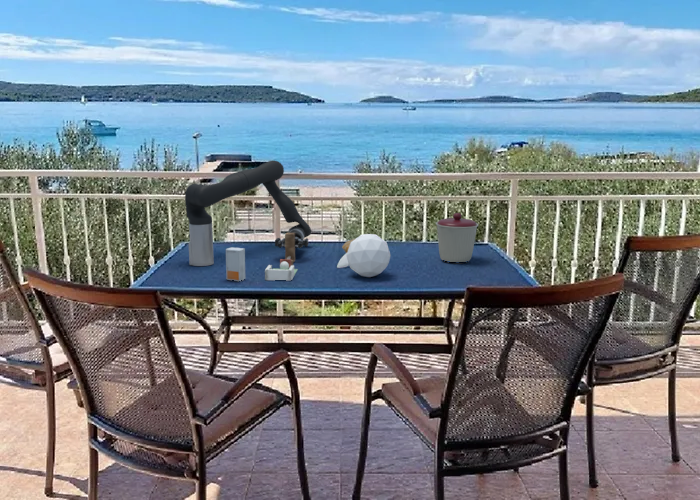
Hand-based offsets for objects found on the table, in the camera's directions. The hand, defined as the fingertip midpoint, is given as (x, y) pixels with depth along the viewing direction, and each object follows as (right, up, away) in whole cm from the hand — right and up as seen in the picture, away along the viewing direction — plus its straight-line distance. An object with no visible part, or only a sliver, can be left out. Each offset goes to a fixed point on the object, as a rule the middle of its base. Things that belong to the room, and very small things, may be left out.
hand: (289, 245), depth 252 cm
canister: (+71, -7, +8) cm, 72 cm away
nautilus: (+32, -5, +17) cm, 37 cm away
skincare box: (-18, -13, -26) cm, 34 cm away
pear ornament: (+31, -11, -14) cm, 35 cm away
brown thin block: (0, -8, -2) cm, 8 cm away
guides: (-1, -9, -6) cm, 11 cm away
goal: (-1, -12, -23) cm, 26 cm away
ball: (-1, -8, -13) cm, 15 cm away
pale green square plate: (-1, -11, -14) cm, 18 cm away
